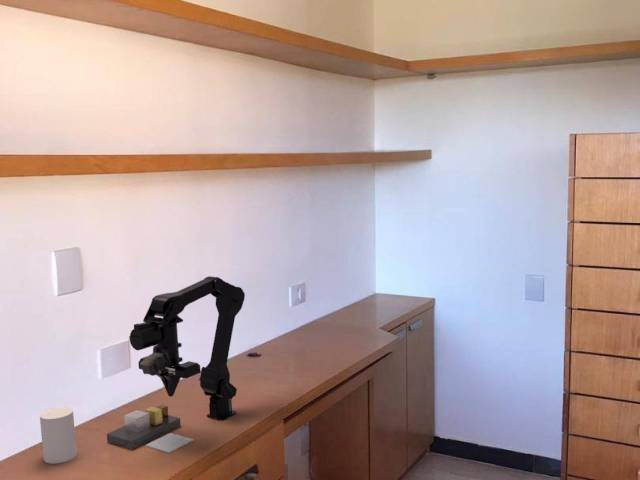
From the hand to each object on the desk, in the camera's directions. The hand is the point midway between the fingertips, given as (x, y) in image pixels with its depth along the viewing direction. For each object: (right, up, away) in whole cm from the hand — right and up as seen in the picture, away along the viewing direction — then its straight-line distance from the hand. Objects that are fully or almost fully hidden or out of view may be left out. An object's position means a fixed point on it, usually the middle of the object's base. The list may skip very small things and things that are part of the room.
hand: (171, 396), depth 182 cm
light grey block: (-10, -10, +3) cm, 14 cm away
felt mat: (0, -12, -2) cm, 13 cm away
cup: (-27, -14, -8) cm, 32 cm away
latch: (-6, -9, +5) cm, 12 cm away
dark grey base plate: (-8, -12, +4) cm, 15 cm away
